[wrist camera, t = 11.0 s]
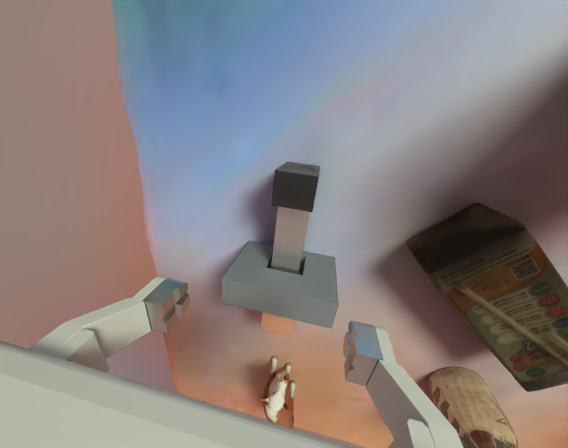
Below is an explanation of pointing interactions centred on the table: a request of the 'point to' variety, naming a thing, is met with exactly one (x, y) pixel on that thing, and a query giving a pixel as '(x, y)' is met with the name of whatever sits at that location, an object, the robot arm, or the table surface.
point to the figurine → (471, 408)
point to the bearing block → (283, 286)
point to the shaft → (292, 212)
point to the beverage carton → (501, 291)
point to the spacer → (277, 324)
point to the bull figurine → (279, 397)
